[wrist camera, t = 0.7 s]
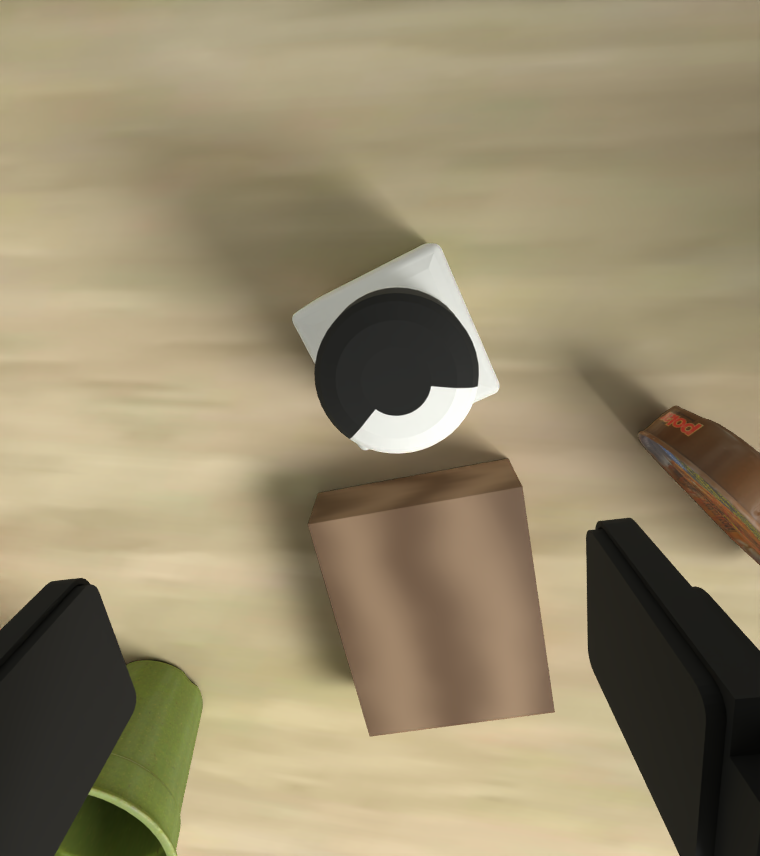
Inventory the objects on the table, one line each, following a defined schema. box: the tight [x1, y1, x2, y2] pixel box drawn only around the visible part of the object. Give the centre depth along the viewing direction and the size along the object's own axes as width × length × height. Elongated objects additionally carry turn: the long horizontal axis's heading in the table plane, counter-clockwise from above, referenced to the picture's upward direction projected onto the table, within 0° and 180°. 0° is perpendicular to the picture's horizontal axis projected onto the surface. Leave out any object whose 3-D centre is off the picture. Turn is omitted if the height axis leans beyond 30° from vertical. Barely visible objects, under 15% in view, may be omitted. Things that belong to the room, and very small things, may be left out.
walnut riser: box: [308, 459, 555, 736], centre depth 34 cm, size 12×16×4 cm
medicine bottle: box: [292, 243, 500, 453], centre depth 24 cm, size 7×7×12 cm
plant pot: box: [55, 660, 203, 856], centre depth 34 cm, size 12×12×11 cm
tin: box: [638, 406, 760, 565], centre depth 29 cm, size 15×3×8 cm, turn 46°
